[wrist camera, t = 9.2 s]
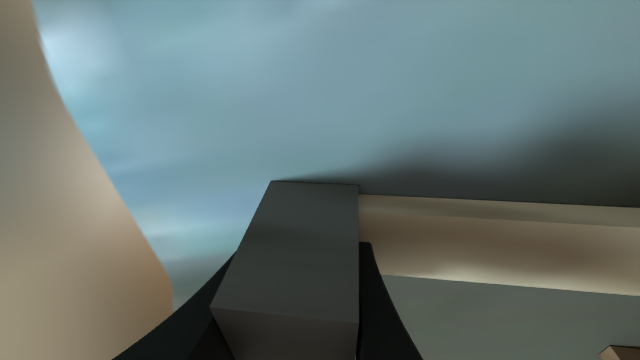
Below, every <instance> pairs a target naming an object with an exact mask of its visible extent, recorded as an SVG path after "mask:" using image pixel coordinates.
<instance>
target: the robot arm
mask: <svg viewBox="0 0 640 360" xmlns="http://www.w3.org/2000/svg"><path fill="white" fill-rule="evenodd" d="M236 251H237V250H236ZM235 253H236V252H235ZM235 253H234V254H233V255H232V256H231V257H230V258H229V260H228V261H227V262H226V263H225V264H224V265H223V266H222V267H221V268H220V269H219V270H218V271H217V272H216V273H215V275H214V276H213V277H212V278H211V279H210V280H209V281H208V282H207V283H206V284H205V285H204V286H202V287H201V288H200V289H199V290H198V291H197V292H196V293H195V294H194V295H193V296H192V297H191V298H190V299H189V300H188V301H187V302H186V303H184V304H183V305H182V306H181V307H180V308H179V309H178V310H176V311H175V312H174V313H173V314H172V315H171V316H169V317H168V318H167V319H166V320H164V321H163V322H162V323H161V324H160V325H158V326H157V327H156V328H155V329H153V330H152V331H151V332H149V333H148V334H147V335H145V336H144V337H143V338H141V339H140V340H139V341H138V342H136V343H135V344H133V345H132V346H130V347H129V348H128V349H126V350H125V351H124V352H122V353H121V354H119V355H118V356H116V357H115V358H114V359H112V360H235V358H234V356H233V354H232V352H231V350H230V348H229V346H228V344H227V342H226V340H225V338H224V336H223V334H222V332H221V330H220V328H219V326H218V324H217V322H216V320H215V318H214V316H213V314H212V312H211V310H210V308H209V307H210V305H211V302H212V300H213V298H214V296H215V294H216V292H217V290H218V288H219V286H220V284H221V282H222V280H223V278H224V276H225V274H226V272H227V270H228V268H229V266H230V264H231V261H232V259H233V257H234V255H235ZM356 360H423V358H422V357H421V355H420V353H419V352H418V350H417V348H416V346H415V345H414V343H413V341H412V340H411V338H410V336H409V334H408V332H407V330H406V329H405V327H404V325H403V323H402V321H401V319H400V317H399V315H398V313H397V311H396V309H395V307H394V305H393V303H392V300H391V298H390V296H389V294H388V291H387V289H386V287H385V284H384V282H383V279H382V277H381V274H380V271H379V269H378V266H377V263H376V260H375V256H374V252H373V248H372V244H371V243H370V242H359V328H358V337H357V346H356Z"/></svg>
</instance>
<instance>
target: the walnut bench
mask: <svg viewBox="0 0 640 360" xmlns="http://www.w3.org/2000/svg"><path fill="white" fill-rule="evenodd" d="M599 356H600V357H601V359H602V360H640V349H636V348H626V347H617V346H609V347H608V348H606V349H605V350H604V351H602V352H601V353H600V354H599Z"/></svg>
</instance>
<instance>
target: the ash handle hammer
mask: <svg viewBox="0 0 640 360" xmlns="http://www.w3.org/2000/svg"><path fill="white" fill-rule="evenodd" d="M359 242H370V243H371V244H372V248H373V252H374V256H375V260H376V263H377V266H378V269H379V271H380V274H385V275H397V276H409V277H421V278H433V279H445V280H457V281H468V282H480V283H492V284H504V285H516V286H528V287H540V288H552V289H564V290H576V291H588V292H600V293H612V294H624V295H636V296H640V208H628V207H608V206H588V205H567V204H547V203H527V202H507V201H486V200H466V199H446V198H426V197H405V196H385V195H365V194H358V185H344V184H321V183H299V182H277V181H270V184H269V186H268V188H267V190H266V192H265V194H264V196H263V198H262V200H261V202H260V204H259V206H258V208H257V210H256V212H255V214H254V216H253V218H252V220H251V222H250V225H249V227H248V229H247V231H246V233H245V235H244V237H243V239H242V241H241V243H240V245H239V247H238V249H237V251H236V253H235V255H234V257H233V259H232V261H231V264H230V266H229V268H228V270H227V272H226V274H225V276H224V278H223V280H222V282H221V284H220V286H219V288H218V290H217V292H216V294H215V296H214V298H213V300H212V302H211V305H210V307H209V308H210V310H211V312H212V314H213V316H214V318H215V320H216V322H217V324H218V326H219V328H220V330H221V332H222V334H223V336H224V338H225V340H226V342H227V344H228V346H229V348H230V350H231V352H232V354H233V356H234V358H235V360H355V355H356V346H357V337H358V328H359Z"/></svg>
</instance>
